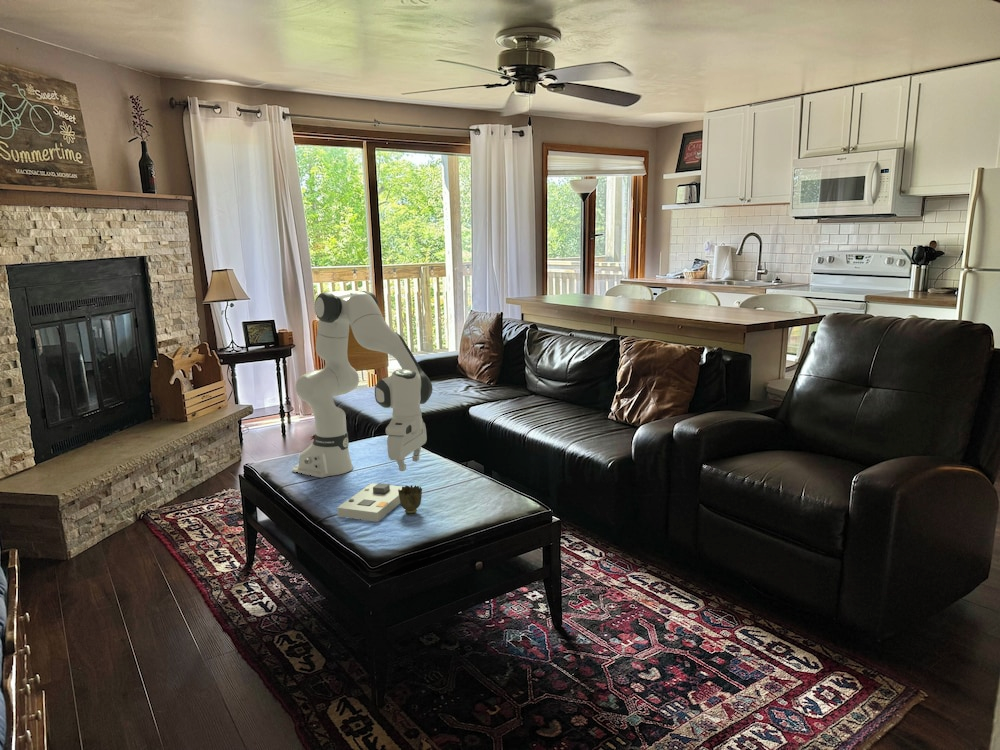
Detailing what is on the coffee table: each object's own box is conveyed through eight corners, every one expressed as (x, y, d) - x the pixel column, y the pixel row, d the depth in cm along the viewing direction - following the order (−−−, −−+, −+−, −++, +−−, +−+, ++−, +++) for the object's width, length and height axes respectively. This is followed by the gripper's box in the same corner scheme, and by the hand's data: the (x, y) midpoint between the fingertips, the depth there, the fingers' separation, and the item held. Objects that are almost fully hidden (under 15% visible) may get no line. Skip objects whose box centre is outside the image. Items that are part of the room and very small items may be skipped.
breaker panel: (337, 516, 206) (337, 506, 205) (372, 491, 226) (371, 482, 225) (377, 521, 201) (377, 511, 201) (409, 495, 222) (408, 486, 221)
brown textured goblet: (409, 506, 213) (408, 483, 211) (427, 511, 209) (426, 487, 207) (394, 514, 206) (393, 490, 205) (413, 519, 203) (412, 495, 201)
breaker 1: (358, 513, 208) (357, 504, 207) (364, 508, 211) (364, 499, 211) (369, 514, 207) (369, 505, 206) (375, 510, 210) (375, 500, 210)
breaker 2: (373, 496, 217) (372, 487, 216) (379, 492, 220) (378, 483, 220) (384, 497, 215) (383, 488, 215) (390, 493, 219) (389, 484, 219)
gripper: (412, 413, 212) (414, 454, 215) (382, 430, 193) (385, 475, 196) (430, 414, 210) (432, 456, 213) (402, 432, 191) (404, 477, 194)
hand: (409, 465), depth 204 cm, fingers open, 8 cm apart
